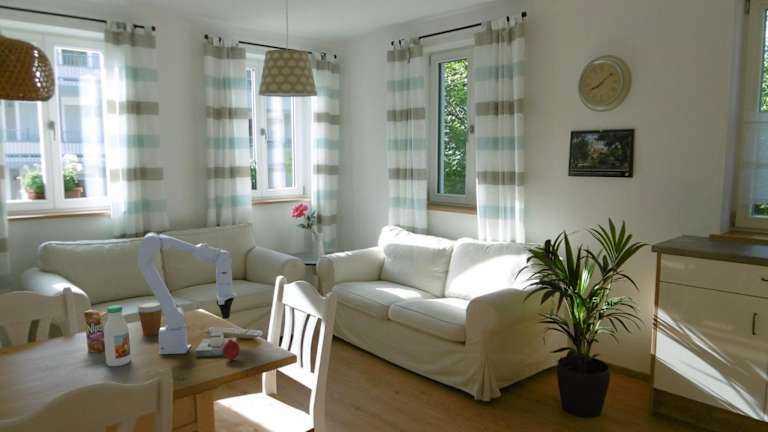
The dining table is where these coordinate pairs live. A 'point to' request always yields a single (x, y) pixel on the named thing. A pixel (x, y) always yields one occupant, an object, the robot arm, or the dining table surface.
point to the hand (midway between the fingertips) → (226, 318)
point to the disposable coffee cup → (150, 317)
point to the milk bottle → (116, 338)
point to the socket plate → (210, 349)
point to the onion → (230, 350)
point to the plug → (216, 339)
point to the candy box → (95, 329)
